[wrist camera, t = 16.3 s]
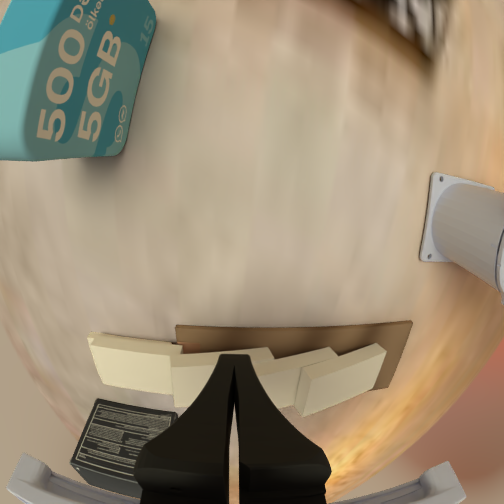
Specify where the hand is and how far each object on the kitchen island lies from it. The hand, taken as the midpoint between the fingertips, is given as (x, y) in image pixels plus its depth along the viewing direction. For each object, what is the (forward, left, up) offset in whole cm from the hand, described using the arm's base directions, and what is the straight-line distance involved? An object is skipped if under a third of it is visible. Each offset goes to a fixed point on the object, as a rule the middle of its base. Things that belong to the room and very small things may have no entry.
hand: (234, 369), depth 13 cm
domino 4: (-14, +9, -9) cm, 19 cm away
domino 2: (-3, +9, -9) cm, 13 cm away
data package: (+10, -16, -11) cm, 22 cm away
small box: (+12, +20, -11) cm, 26 cm away
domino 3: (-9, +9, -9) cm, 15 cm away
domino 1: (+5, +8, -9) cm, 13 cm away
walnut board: (-6, +9, -10) cm, 15 cm away
